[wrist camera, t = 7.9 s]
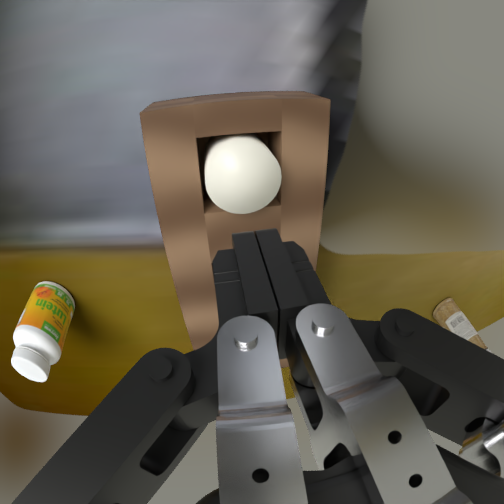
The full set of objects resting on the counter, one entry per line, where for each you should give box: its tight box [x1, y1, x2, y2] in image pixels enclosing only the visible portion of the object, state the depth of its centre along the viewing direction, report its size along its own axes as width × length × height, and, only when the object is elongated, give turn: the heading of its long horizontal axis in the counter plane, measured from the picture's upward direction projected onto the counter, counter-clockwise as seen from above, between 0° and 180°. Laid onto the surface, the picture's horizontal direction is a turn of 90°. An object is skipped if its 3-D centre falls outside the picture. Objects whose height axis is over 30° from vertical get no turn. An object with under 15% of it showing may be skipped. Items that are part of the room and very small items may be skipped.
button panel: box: [140, 91, 330, 368], centre depth 25 cm, size 27×11×5 cm, turn 2°
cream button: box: [204, 133, 282, 214], centre depth 18 cm, size 4×4×5 cm
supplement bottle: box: [11, 281, 75, 382], centre depth 23 cm, size 5×5×10 cm
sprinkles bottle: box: [433, 298, 491, 352], centre depth 35 cm, size 5×5×13 cm
